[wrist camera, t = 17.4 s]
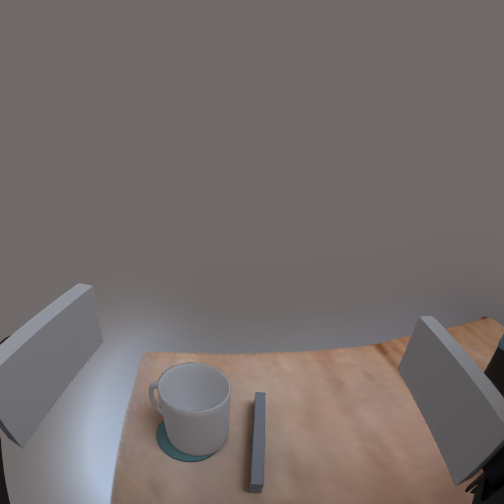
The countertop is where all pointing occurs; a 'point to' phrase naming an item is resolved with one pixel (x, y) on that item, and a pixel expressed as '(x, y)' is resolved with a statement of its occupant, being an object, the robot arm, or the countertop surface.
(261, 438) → the wall
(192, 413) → the mug
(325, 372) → the countertop surface
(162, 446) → the pad
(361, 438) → the countertop surface
